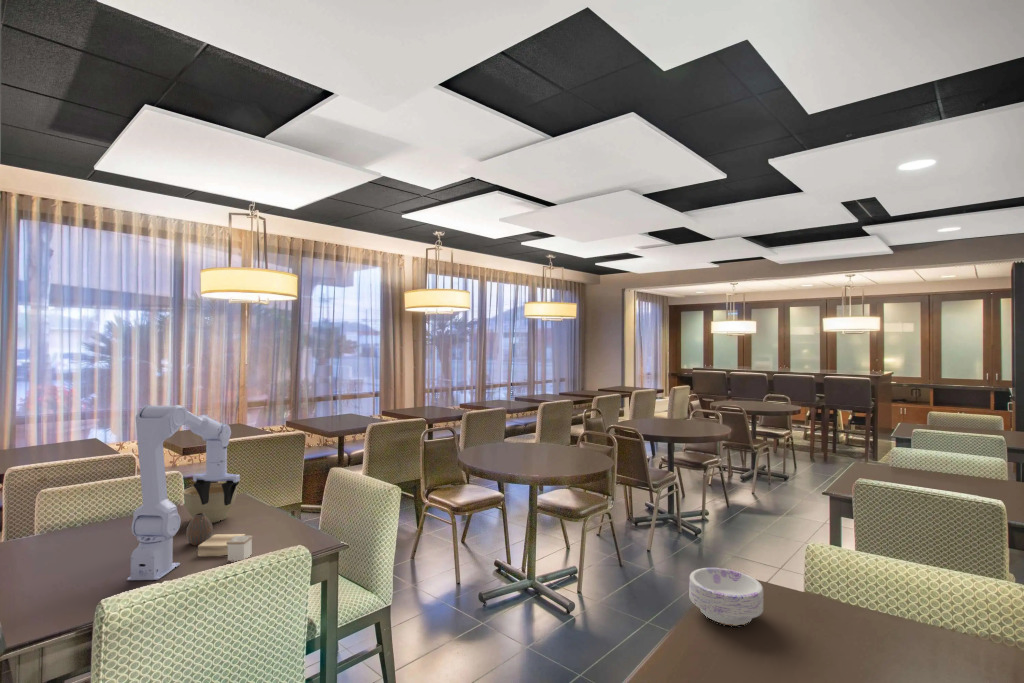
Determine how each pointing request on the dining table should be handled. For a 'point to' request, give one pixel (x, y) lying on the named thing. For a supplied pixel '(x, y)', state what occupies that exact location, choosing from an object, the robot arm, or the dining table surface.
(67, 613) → the dining table surface
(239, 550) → the framed cream cube
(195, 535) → the vase
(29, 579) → the dining table surface
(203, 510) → the planter bowl
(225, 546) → the block
